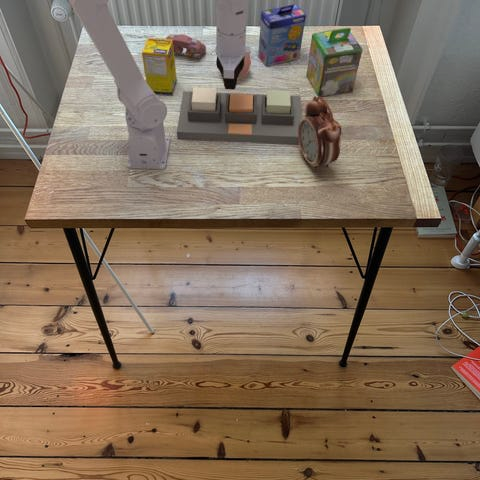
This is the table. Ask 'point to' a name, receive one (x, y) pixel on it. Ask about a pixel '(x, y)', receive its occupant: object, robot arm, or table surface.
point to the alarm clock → (319, 134)
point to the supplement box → (159, 65)
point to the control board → (239, 122)
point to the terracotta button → (241, 103)
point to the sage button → (278, 102)
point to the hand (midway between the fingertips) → (230, 87)
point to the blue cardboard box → (281, 34)
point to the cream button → (204, 99)
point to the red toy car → (187, 45)
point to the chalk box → (333, 61)
